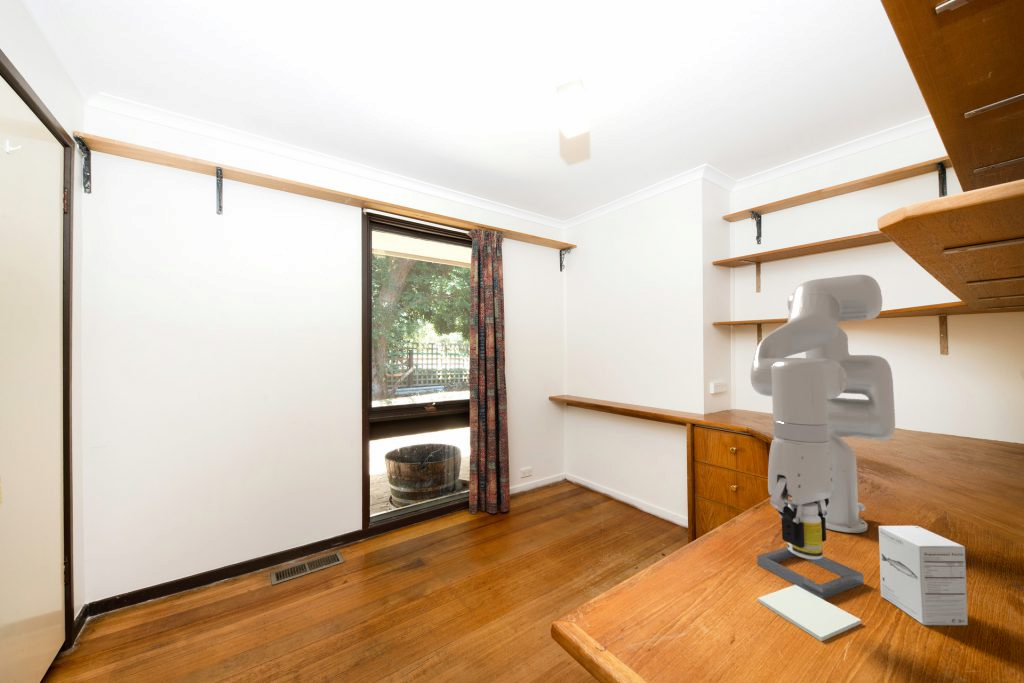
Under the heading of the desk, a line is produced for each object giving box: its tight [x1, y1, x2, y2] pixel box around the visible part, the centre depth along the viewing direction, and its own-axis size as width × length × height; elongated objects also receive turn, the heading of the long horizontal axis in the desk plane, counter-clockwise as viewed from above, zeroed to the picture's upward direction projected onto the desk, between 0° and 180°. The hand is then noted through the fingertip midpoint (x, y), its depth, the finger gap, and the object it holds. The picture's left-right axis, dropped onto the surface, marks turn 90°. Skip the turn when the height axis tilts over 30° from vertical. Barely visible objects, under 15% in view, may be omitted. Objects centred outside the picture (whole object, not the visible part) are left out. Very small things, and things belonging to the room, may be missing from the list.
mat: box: [757, 584, 862, 642], centre depth 64 cm, size 10×10×1 cm
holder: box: [756, 546, 865, 600], centre depth 75 cm, size 12×12×2 cm
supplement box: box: [878, 525, 969, 626], centre depth 64 cm, size 7×7×13 cm
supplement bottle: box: [786, 497, 824, 559], centre depth 64 cm, size 5×5×8 cm
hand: (804, 539), depth 64 cm, fingers closed on supplement bottle, 4 cm apart
